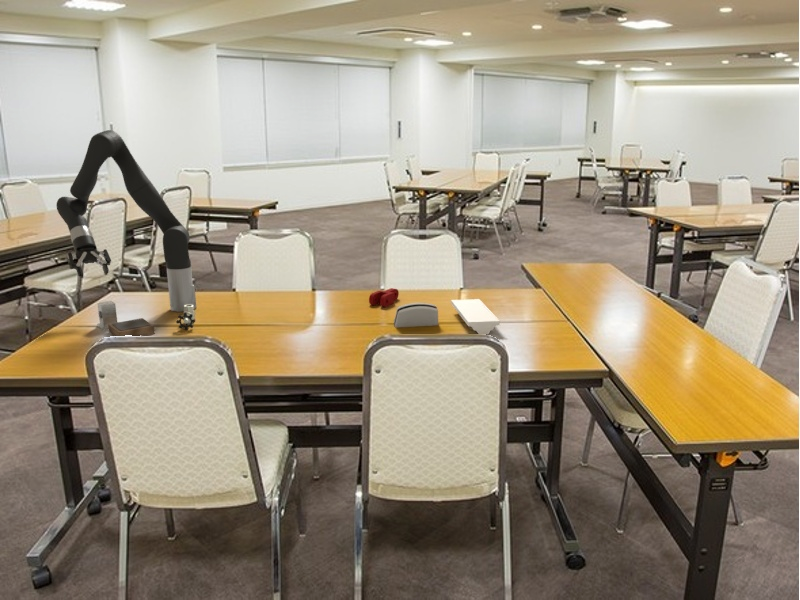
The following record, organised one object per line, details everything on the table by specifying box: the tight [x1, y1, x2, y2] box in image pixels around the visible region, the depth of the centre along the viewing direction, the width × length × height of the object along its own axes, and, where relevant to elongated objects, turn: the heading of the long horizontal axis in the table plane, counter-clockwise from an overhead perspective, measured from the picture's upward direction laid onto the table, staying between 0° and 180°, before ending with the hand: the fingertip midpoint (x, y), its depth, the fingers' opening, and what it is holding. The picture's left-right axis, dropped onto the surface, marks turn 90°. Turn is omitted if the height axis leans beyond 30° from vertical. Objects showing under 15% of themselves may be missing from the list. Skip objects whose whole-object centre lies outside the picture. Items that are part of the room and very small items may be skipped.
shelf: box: [450, 298, 501, 335], centre depth 242 cm, size 12×30×5 cm, turn 7°
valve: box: [175, 304, 196, 331], centre depth 237 cm, size 7×7×12 cm
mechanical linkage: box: [368, 288, 400, 308], centre depth 269 cm, size 16×7×5 cm, turn 150°
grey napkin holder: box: [393, 302, 439, 328], centre depth 238 cm, size 17×5×10 cm, turn 101°
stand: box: [108, 317, 155, 337], centre depth 228 cm, size 12×12×3 cm
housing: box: [96, 300, 119, 331], centre depth 235 cm, size 6×6×9 cm
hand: (94, 275), depth 240 cm, fingers open, 8 cm apart
